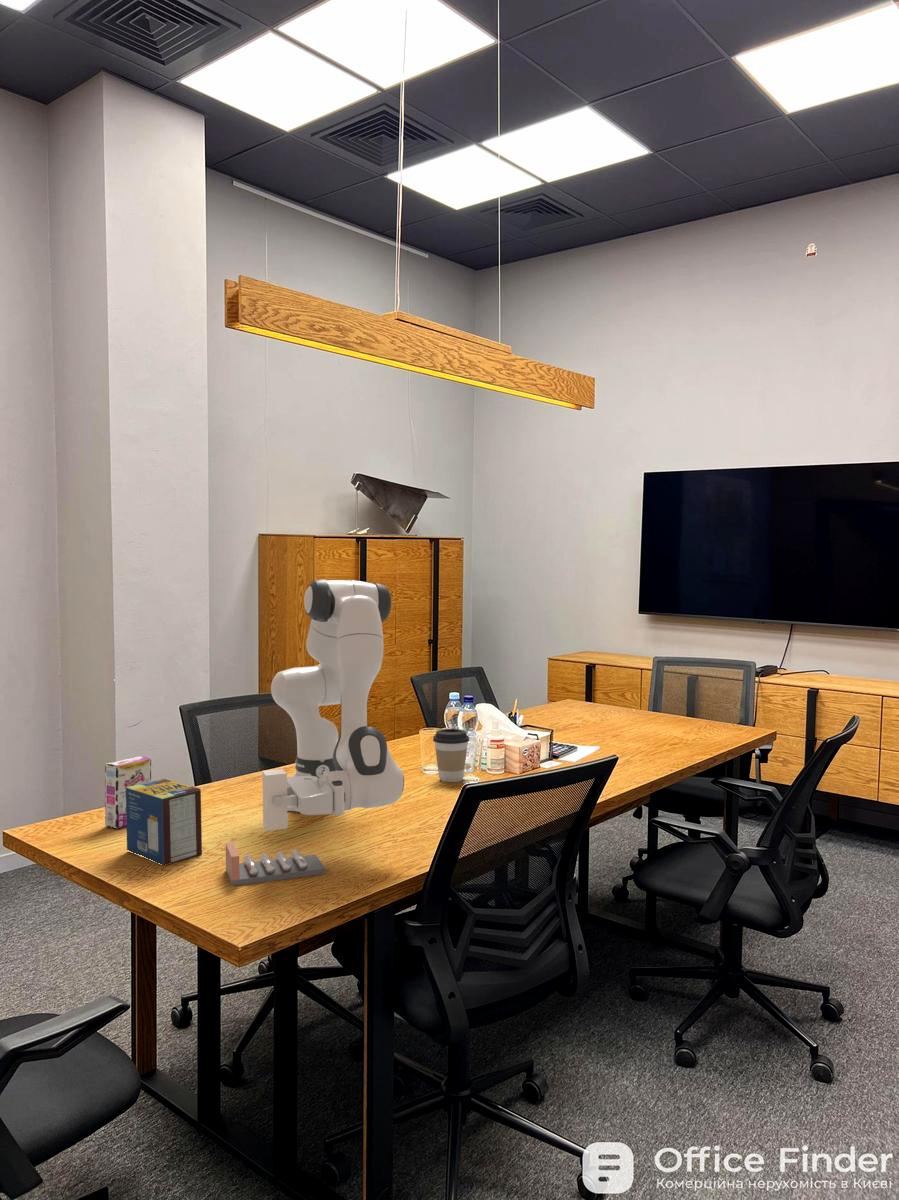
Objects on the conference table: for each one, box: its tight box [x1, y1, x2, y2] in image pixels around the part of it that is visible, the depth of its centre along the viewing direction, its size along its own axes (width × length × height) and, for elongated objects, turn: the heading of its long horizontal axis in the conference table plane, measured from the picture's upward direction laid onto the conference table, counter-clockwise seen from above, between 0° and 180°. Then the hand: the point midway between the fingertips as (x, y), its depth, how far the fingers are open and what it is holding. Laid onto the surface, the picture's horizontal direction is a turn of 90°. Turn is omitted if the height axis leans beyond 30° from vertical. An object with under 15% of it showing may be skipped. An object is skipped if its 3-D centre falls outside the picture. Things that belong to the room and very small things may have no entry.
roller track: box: [225, 841, 327, 887], centre depth 196 cm, size 10×20×6 cm, turn 111°
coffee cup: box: [432, 728, 470, 783], centre depth 277 cm, size 11×11×15 cm
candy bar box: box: [104, 756, 152, 830], centre depth 232 cm, size 11×5×16 cm, turn 149°
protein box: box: [126, 778, 203, 866], centre depth 209 cm, size 10×15×16 cm
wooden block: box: [262, 768, 289, 831], centre depth 196 cm, size 4×4×12 cm
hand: (270, 797), depth 195 cm, fingers closed on wooden block, 4 cm apart
